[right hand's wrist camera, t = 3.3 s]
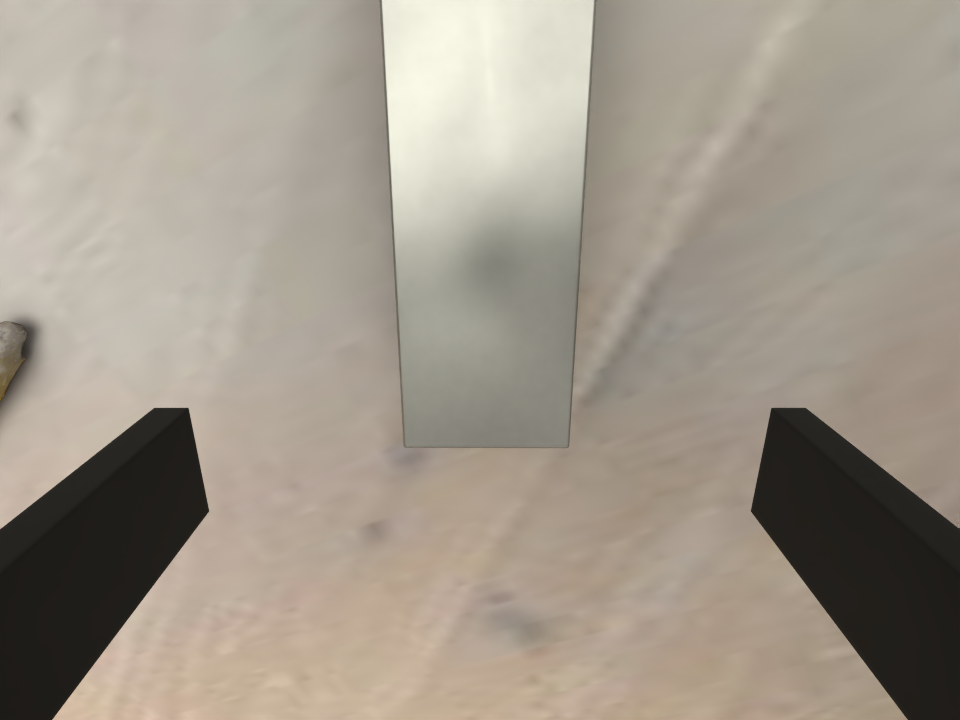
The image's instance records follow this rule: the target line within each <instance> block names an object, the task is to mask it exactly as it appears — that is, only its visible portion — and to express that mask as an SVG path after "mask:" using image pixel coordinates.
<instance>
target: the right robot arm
mask: <svg viewBox="0 0 960 720" xmlns="http://www.w3.org/2000/svg"><path fill="white" fill-rule="evenodd" d="M208 512H209V508H208V503H207V498H206V493H205V488H204V483H203V478H202V473H201V468H200V463H199V458H198V453H197V448H196V443H195V438H194V433H193V428H192V423H191V418H190V413H189V408H154V409H152V410H151V411H150V412H149V413H147V414H146V415H145V416H144V417H142V418H141V419H140V420H139V421H137V422H136V423H135V424H133V425H132V426H131V427H130V428H128V429H127V430H126V431H125V432H123V433H122V434H121V435H119V436H118V437H117V438H116V439H114V440H113V441H112V442H111V443H109V444H108V445H107V446H106V447H104V448H103V449H102V450H100V451H99V452H98V453H97V454H95V455H94V456H93V457H92V458H90V459H89V460H88V461H86V462H85V463H84V464H83V465H81V466H80V467H79V468H78V469H76V470H75V471H74V472H73V473H71V474H70V475H69V476H67V477H66V478H65V479H64V480H62V481H61V482H60V483H59V484H57V485H56V486H55V487H53V488H52V489H51V490H50V491H48V492H47V493H46V494H45V495H43V496H42V497H41V498H40V499H38V500H37V501H36V502H34V503H33V504H32V505H31V506H29V507H28V508H27V509H26V510H24V511H23V512H22V513H20V514H19V515H18V516H17V517H15V518H14V519H13V520H12V521H10V522H9V523H8V524H7V525H5V526H4V527H3V528H1V529H0V720H52V719H53V718H54V717H55V715H56V714H57V713H58V711H59V710H60V709H61V707H62V706H63V705H64V703H65V702H66V701H67V699H68V698H69V697H70V695H71V694H72V693H73V691H74V690H75V689H76V687H77V686H78V685H79V683H80V682H81V681H82V679H83V678H84V677H85V675H86V674H87V673H88V671H89V670H90V669H91V667H92V666H93V665H94V663H95V662H96V661H97V659H98V658H99V657H100V655H101V654H102V653H103V651H104V650H105V649H106V647H107V646H108V645H109V644H110V642H111V641H112V640H113V638H114V637H115V636H116V634H117V633H118V632H119V630H120V629H121V628H122V626H123V625H124V624H125V622H126V621H127V620H128V618H129V617H130V616H131V614H132V613H133V612H134V610H135V609H136V608H137V606H138V605H139V604H140V602H141V601H142V600H143V598H144V597H145V596H146V594H147V593H148V592H149V590H150V589H151V588H152V586H153V585H154V584H155V582H156V581H157V580H158V578H159V577H160V576H161V574H162V573H163V572H164V570H165V569H166V568H167V566H168V565H169V564H170V562H171V561H172V560H173V559H174V557H175V556H176V555H177V553H178V552H179V551H180V549H181V548H182V547H183V545H184V544H185V543H186V541H187V540H188V539H189V537H190V536H191V535H192V533H193V532H194V531H195V529H196V528H197V527H198V525H199V524H200V523H201V521H202V520H203V519H204V517H205V516H206V515H207V513H208ZM751 512H752V513H753V515H754V516H755V517H756V519H757V520H758V521H759V523H760V524H761V525H762V527H763V528H764V529H765V531H766V532H767V533H768V535H769V536H770V537H771V539H772V540H773V541H774V543H775V544H776V545H777V547H778V548H779V549H780V551H781V552H782V553H783V555H784V556H785V557H786V559H787V560H788V561H789V562H790V564H791V565H792V566H793V568H794V569H795V570H796V572H797V573H798V574H799V576H800V577H801V578H802V580H803V581H804V582H805V584H806V585H807V586H808V588H809V589H810V590H811V592H812V593H813V594H814V596H815V597H816V598H817V600H818V601H819V602H820V604H821V605H822V606H823V608H824V609H825V610H826V612H827V613H828V614H829V616H830V617H831V618H832V620H833V621H834V622H835V624H836V625H837V626H838V628H839V629H840V630H841V632H842V633H843V634H844V636H845V637H846V638H847V640H848V641H849V642H850V644H851V645H852V646H853V647H854V649H855V650H856V651H857V653H858V654H859V655H860V657H861V658H862V659H863V661H864V662H865V663H866V665H867V666H868V667H869V669H870V670H871V671H872V673H873V674H874V675H875V677H876V678H877V679H878V681H879V682H880V683H881V685H882V686H883V687H884V689H885V690H886V691H887V693H888V694H889V695H890V697H891V698H892V699H893V701H894V702H895V703H896V705H897V706H898V707H899V709H900V710H901V711H902V713H903V714H904V715H905V717H906V718H907V719H908V720H960V528H957V527H956V526H955V525H953V524H952V523H951V522H950V521H948V520H947V519H946V518H945V517H943V516H942V515H941V514H940V513H938V512H937V511H936V510H934V509H933V508H932V507H931V506H929V505H928V504H927V503H926V502H924V501H923V500H922V499H920V498H919V497H918V496H917V495H915V494H914V493H913V492H912V491H910V490H909V489H908V488H907V487H905V486H904V485H903V484H901V483H900V482H899V481H898V480H896V479H895V478H894V477H893V476H891V475H890V474H889V473H887V472H886V471H885V470H884V469H882V468H881V467H880V466H879V465H877V464H876V463H875V462H874V461H872V460H871V459H870V458H868V457H867V456H866V455H865V454H863V453H862V452H861V451H860V450H858V449H857V448H856V447H854V446H853V445H852V444H851V443H849V442H848V441H847V440H846V439H844V438H843V437H842V436H841V435H839V434H838V433H837V432H835V431H834V430H833V429H832V428H830V427H829V426H828V425H827V424H825V423H824V422H823V421H821V420H820V419H819V418H818V417H816V416H815V415H814V414H813V413H811V412H810V411H809V410H808V409H806V408H771V413H770V418H769V423H768V428H767V433H766V438H765V443H764V448H763V453H762V458H761V463H760V468H759V473H758V478H757V483H756V488H755V493H754V498H753V503H752V508H751Z"/></svg>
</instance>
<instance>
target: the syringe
mask: <svg viewBox="0 0 960 720" xmlns="http://www.w3.org/2000/svg"><path fill="white" fill-rule="evenodd" d="M26 338H27V331H26V329H25V328H24V327H23V326H22V325H19V324H17V323H13V322H8V321H6V322H1V323H0V401H1V400H2V398H3V397H4V395H5V393H6V391H7V388H8V386H9V383H10V381H11V380H12V378H13V376H14V375H15V373H16V371H17V369H18V368H19V367H20V366H21V365H22V364H23V362H24V361H25V360H26V358H23V357H22V356H21V351H22V346H23V344H24V342H25V341H26Z"/></svg>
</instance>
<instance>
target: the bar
mask: <svg viewBox="0 0 960 720" xmlns="http://www.w3.org/2000/svg"><path fill="white" fill-rule="evenodd" d="M595 14H596V0H380V16H381V34H382V53H383V71H384V90H385V109H386V127H387V146H388V164H389V183H390V201H391V220H392V238H393V257H394V276H395V294H396V313H397V331H398V350H399V368H400V387H401V405H402V424H403V442H404V447H406V448H568V447H569V439H570V423H571V406H572V390H573V374H574V357H575V341H576V325H577V308H578V292H579V276H580V259H581V243H582V226H583V210H584V194H585V177H586V161H587V145H588V128H589V112H590V96H591V79H592V63H593V47H594V30H595Z"/></svg>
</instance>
